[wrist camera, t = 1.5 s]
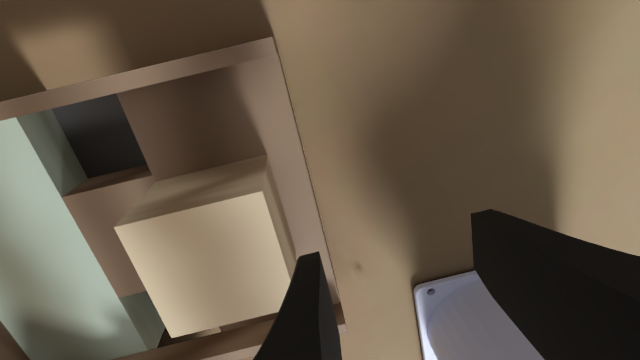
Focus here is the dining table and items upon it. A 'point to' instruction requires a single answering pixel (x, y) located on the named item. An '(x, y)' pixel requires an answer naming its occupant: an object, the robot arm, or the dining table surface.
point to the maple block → (211, 246)
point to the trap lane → (134, 198)
